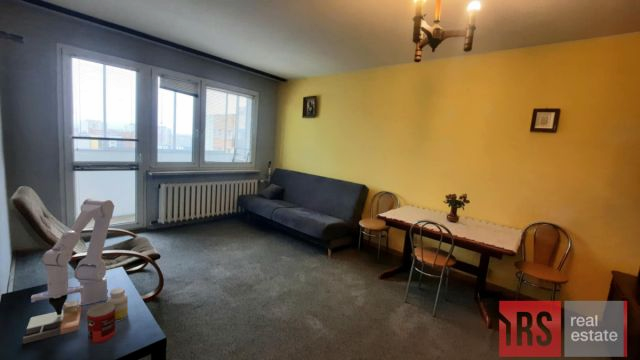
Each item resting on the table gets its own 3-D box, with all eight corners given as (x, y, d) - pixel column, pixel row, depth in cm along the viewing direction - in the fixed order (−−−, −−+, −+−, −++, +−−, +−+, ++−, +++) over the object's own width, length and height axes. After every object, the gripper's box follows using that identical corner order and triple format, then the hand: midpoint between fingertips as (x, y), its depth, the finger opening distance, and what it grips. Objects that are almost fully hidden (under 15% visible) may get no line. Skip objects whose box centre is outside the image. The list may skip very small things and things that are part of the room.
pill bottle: (114, 312, 117) (113, 286, 115) (131, 312, 118) (130, 286, 116) (104, 322, 111) (103, 294, 109) (121, 322, 111) (121, 295, 110)
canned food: (92, 332, 105) (91, 304, 104) (118, 327, 108) (117, 301, 107) (84, 346, 98) (83, 316, 97) (112, 341, 101) (111, 312, 100)
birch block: (77, 309, 114) (77, 300, 114) (77, 314, 111) (77, 305, 110) (64, 312, 112) (64, 302, 111) (63, 317, 108) (63, 307, 108)
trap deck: (81, 310, 116) (81, 306, 116) (78, 329, 106) (78, 324, 106) (31, 322, 108) (31, 317, 108) (23, 343, 97) (22, 338, 97)
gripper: (28, 290, 100) (30, 325, 102) (82, 280, 109) (83, 313, 110) (32, 281, 105) (34, 315, 107) (83, 272, 114) (84, 304, 116)
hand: (59, 313), depth 109 cm, fingers closed
